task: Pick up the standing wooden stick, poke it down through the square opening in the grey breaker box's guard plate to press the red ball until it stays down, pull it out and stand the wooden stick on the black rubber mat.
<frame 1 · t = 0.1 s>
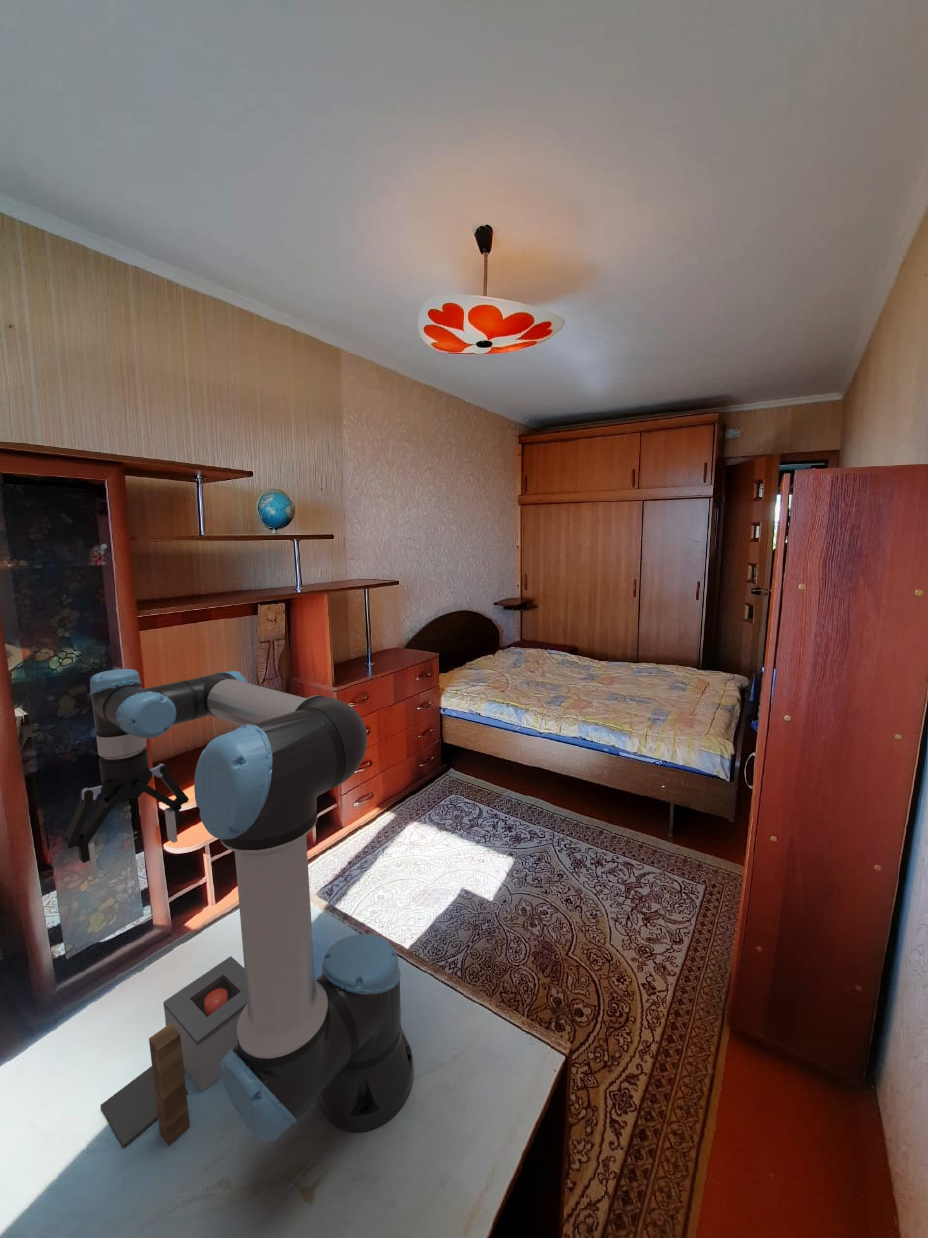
hand: (135, 856, 96), 28 cm above the table, fingers open, 13 cm apart
red ball: (216, 1008, 87), point 6 cm above the table, slide at 0.0 cm
wooden stick: (174, 1129, 74), on the table
breaker box: (219, 1041, 88), on the table
mat: (144, 1101, 78), on the table
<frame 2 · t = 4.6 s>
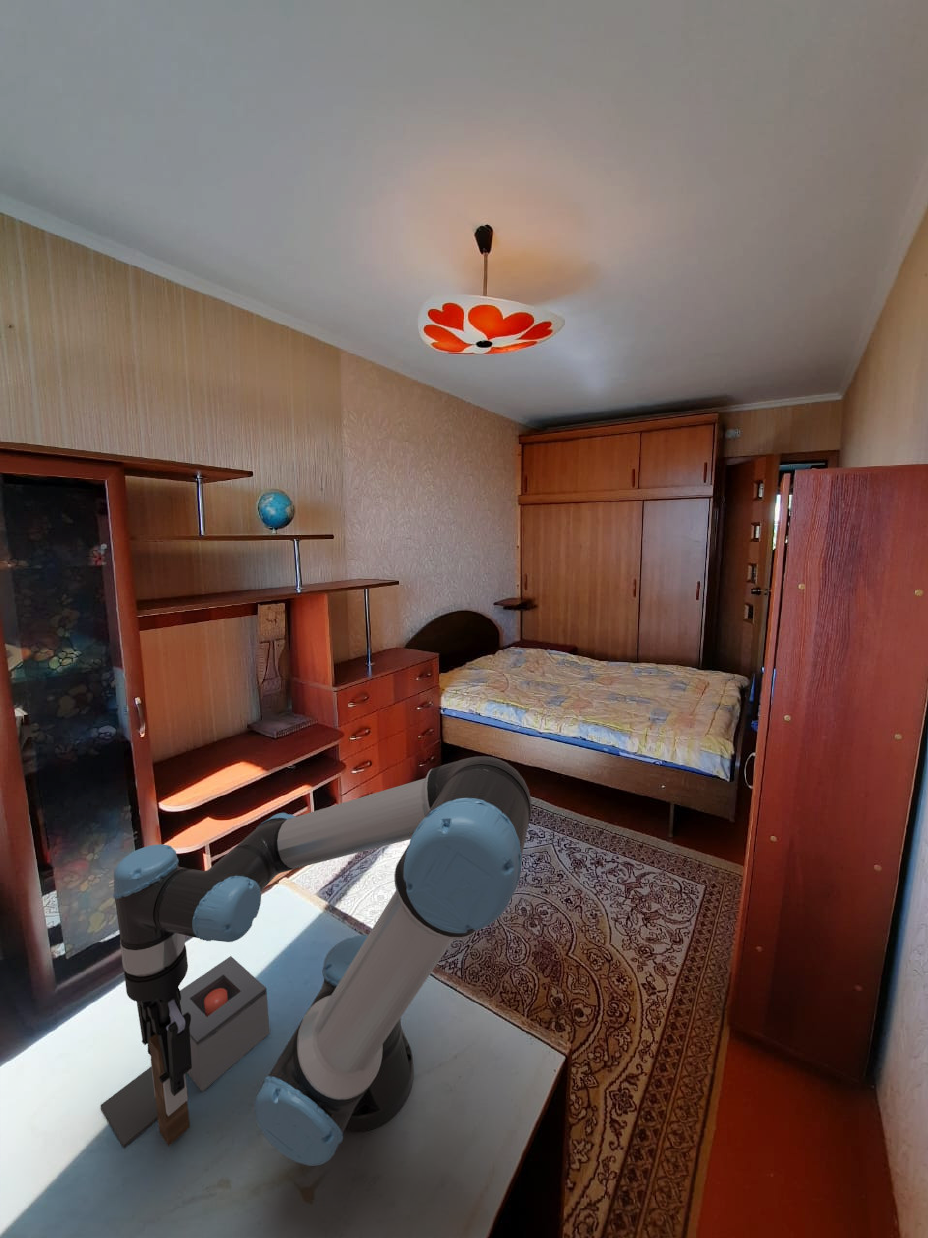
hand: (171, 1098, 73), 6 cm above the table, fingers closed on wooden stick, 3 cm apart
wooden stick: (174, 1129, 74), on the table, touching gripper
everything else where it was.
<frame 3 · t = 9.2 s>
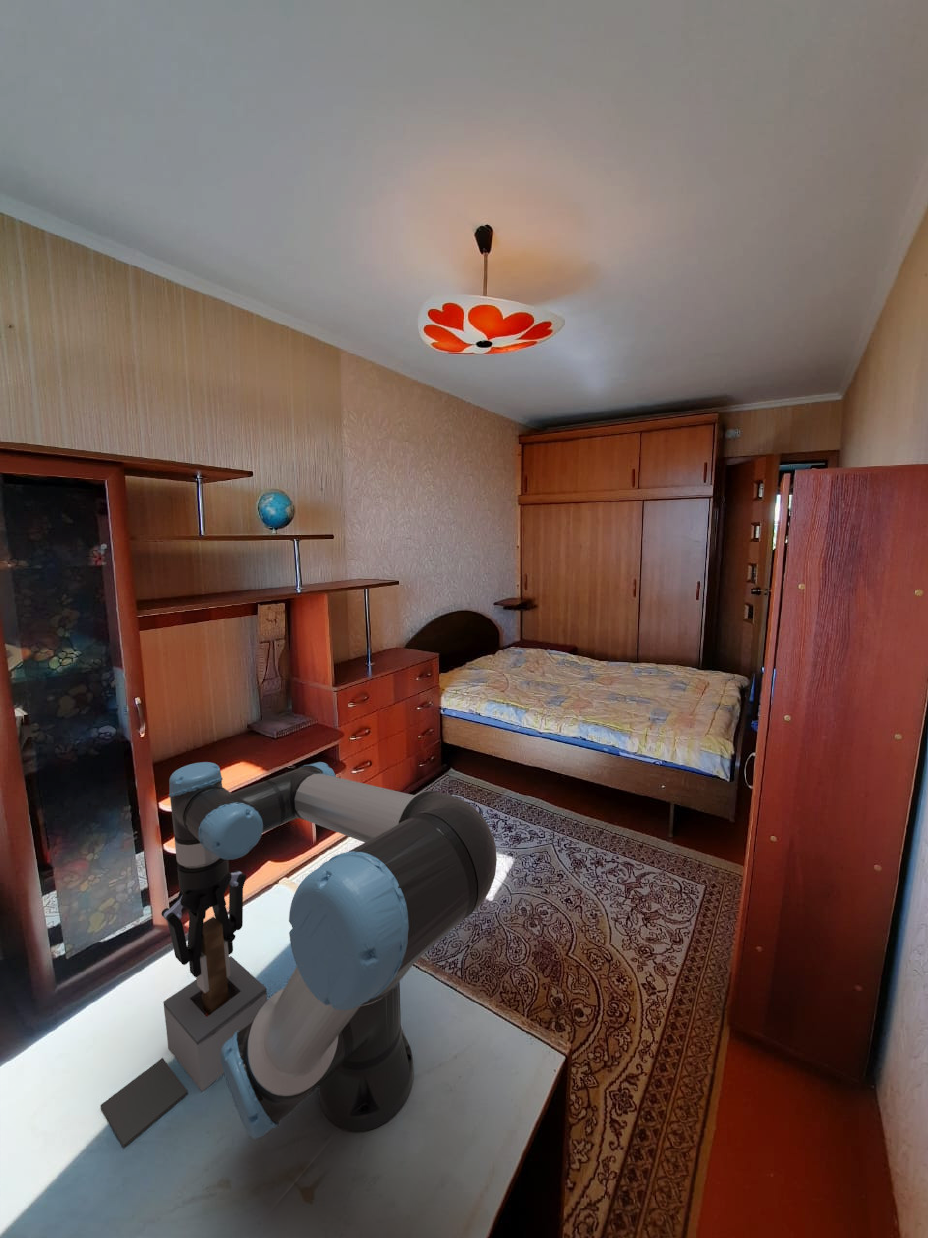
hand: (214, 980, 86), 12 cm above the table, fingers closed on wooden stick, 3 cm apart
red ball: (217, 1019, 87), point 4 cm above the table, slide at 2.2 cm, touching wooden stick
wooden stick: (216, 1008, 87), point 6 cm above the table, touching gripper, red ball
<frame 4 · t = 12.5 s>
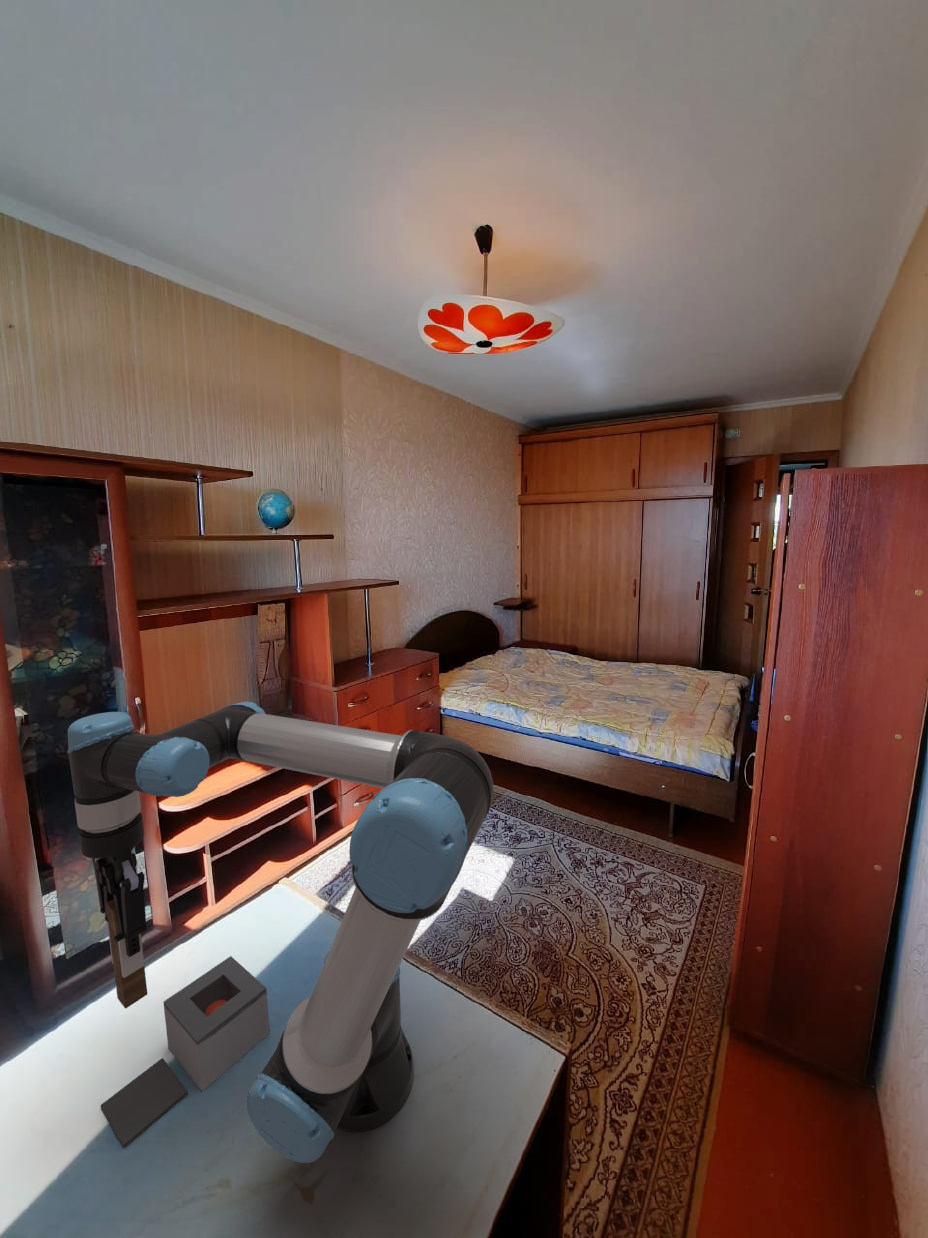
hand: (128, 964, 75), 24 cm above the table, fingers closed on wooden stick, 3 cm apart
red ball: (217, 1020, 87), point 4 cm above the table, slide at 2.3 cm
wooden stick: (132, 996, 76), point 19 cm above the table, touching gripper
when the fingers open (7 cm above the table, at t = 15.6 s): wooden stick stays where it is, resting on mat.
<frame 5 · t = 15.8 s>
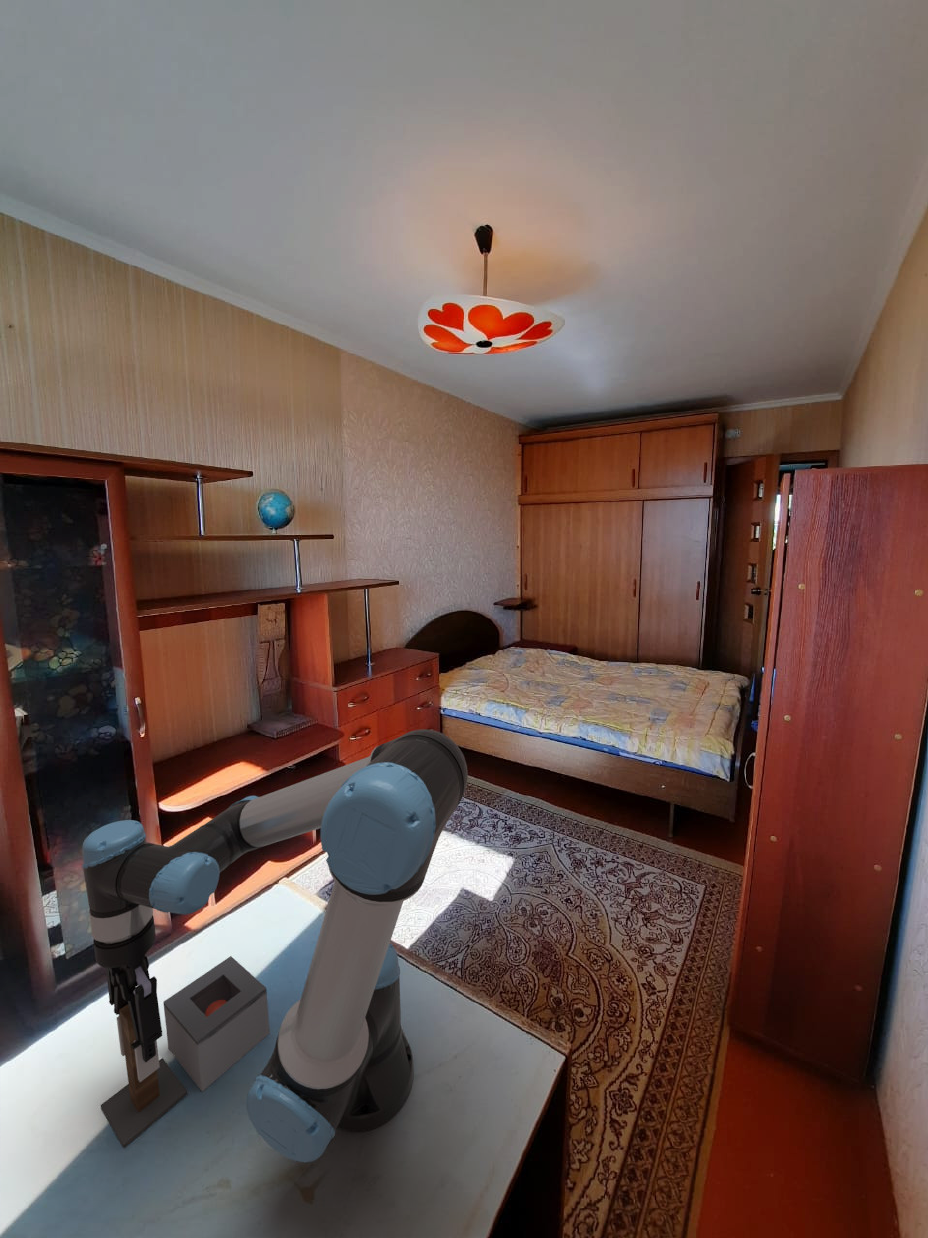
hand: (140, 1060, 77), 7 cm above the table, fingers open, 6 cm apart
wooden stick: (145, 1098, 78), point 1 cm above the table, touching mat
everything else where it was.
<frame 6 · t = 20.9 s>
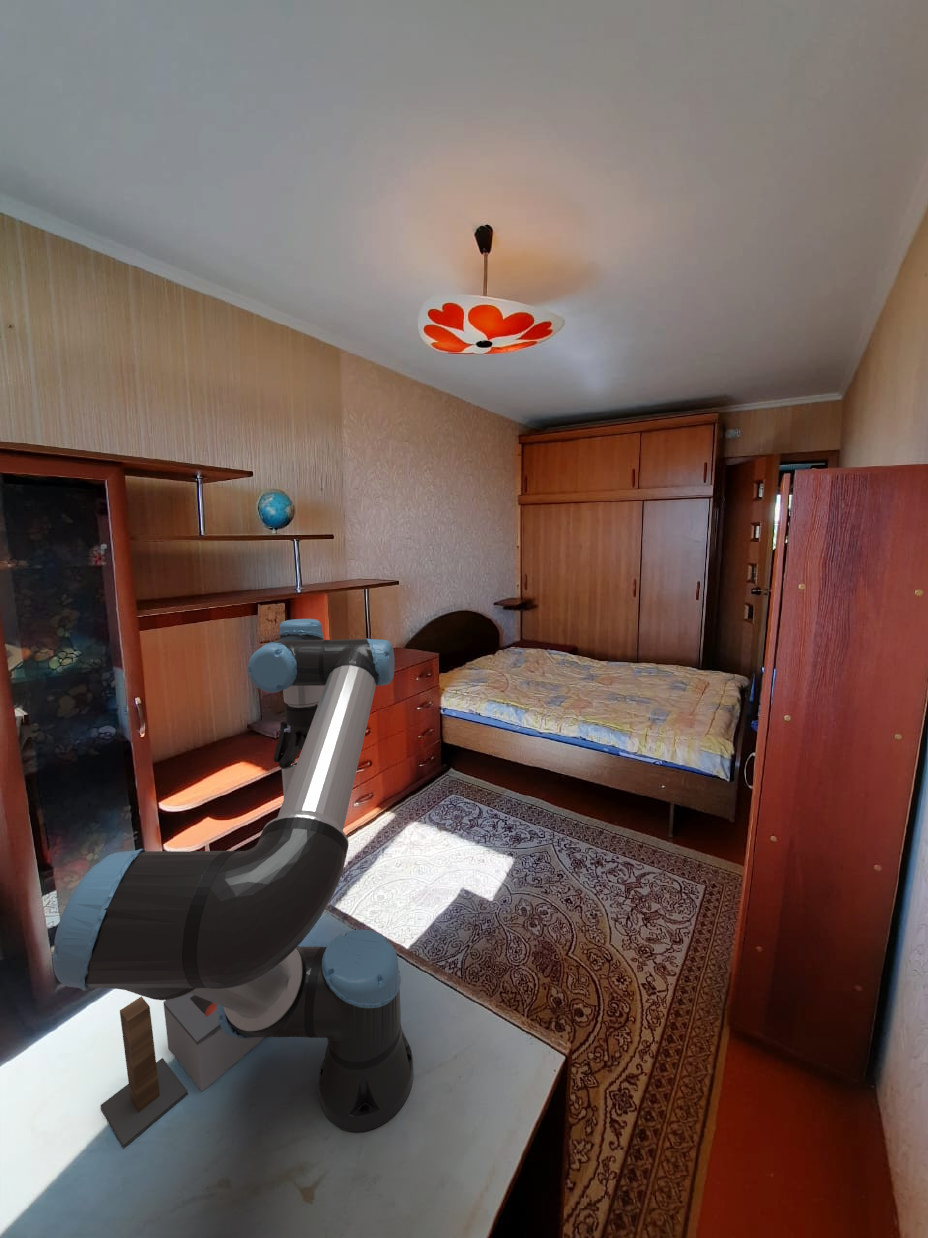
hand: (312, 808, 95), 37 cm above the table, fingers open, 13 cm apart
nothing on the table moved.
at the end: red ball slide at 2.3 cm; wooden stick inside the target area on the mat (0.1 cm from its centre), point 0.6 cm above the mat's base; the gripper is holding nothing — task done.
